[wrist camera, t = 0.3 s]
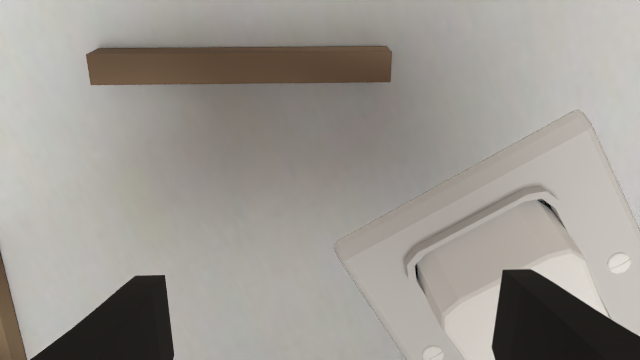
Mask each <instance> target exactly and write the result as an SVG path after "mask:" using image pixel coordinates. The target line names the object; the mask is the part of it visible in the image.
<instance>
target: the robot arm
mask: <svg viewBox="0 0 640 360" xmlns="http://www.w3.org/2000/svg"><path fill="white" fill-rule="evenodd" d="M492 351H493V354H494V357H495V360H640V336H638V335H637V334H635V333H633V332H631V331H630V330H628V329H626V328H625V327H623V326H621V325H620V324H618V323H616V322H615V321H613V320H611V319H610V318H608V317H607V316H605V315H603V314H602V313H600V312H599V311H597V310H595V309H594V308H592V307H591V306H589V305H588V304H586V303H585V302H583V301H581V300H580V299H578V298H577V297H575V296H574V295H572V294H571V293H569V292H568V291H566V290H565V289H563V288H561V287H560V286H558V285H557V284H555V283H554V282H552V281H550V280H549V279H547V278H546V277H544V276H542V275H541V274H539V273H537V272H535V271H533V270H531V269H511V270H503V271H502V278H501V285H500V292H499V299H498V306H497V313H496V320H495V327H494V334H493V341H492ZM173 357H174V350H173V341H172V333H171V324H170V316H169V307H168V299H167V290H166V281H165V275H152V276H135V277H133V278H132V279H131V280H130V281H128V282H127V283H126V284H125V285H123V286H122V287H121V288H120V289H119V290H118V291H116V292H115V293H114V294H113V295H112V296H111V297H109V298H108V299H107V300H106V301H105V302H104V303H102V304H101V305H100V306H99V307H98V308H96V309H95V310H94V311H93V312H92V313H90V314H89V315H88V316H87V317H86V318H84V319H83V320H82V321H81V322H79V323H78V324H77V325H76V326H75V327H73V328H72V329H71V330H69V331H68V332H67V333H65V334H64V335H63V336H61V337H60V338H59V339H57V340H56V341H55V342H53V343H52V344H51V345H49V346H48V347H47V348H45V349H44V350H43V351H41V352H40V353H39V354H37V355H36V356H35V357H33V358H32V359H30V360H173Z"/></svg>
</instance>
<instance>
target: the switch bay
mask: <svg viewBox="0 0 640 360" xmlns="http://www.w3.org/2000/svg"><path fill="white" fill-rule="evenodd" d="M86 58H87V64H88V70H89V77H90V83H91V85H143V84H246V83H348V82H390V80H391V59H392V52H391V51H390V50H389V48H388V47H387V46H350V47H220V48H98V49H96V50H94V51H92V52H90V53H88V54H86Z"/></svg>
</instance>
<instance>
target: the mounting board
mask: <svg viewBox="0 0 640 360" xmlns="http://www.w3.org/2000/svg"><path fill="white" fill-rule="evenodd" d="M0 360H26V356H25V352H24V347H23V343H22V339H21V335H20V331H19V327H18V323H17V319H16V315H15V311H14V307H13V303H12V299H11V295H10V291H9V287H8V283H7V279H6V274H5V270H4V266H3V262H2V258H1V254H0Z"/></svg>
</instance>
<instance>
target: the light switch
mask: <svg viewBox="0 0 640 360" xmlns="http://www.w3.org/2000/svg"><path fill="white" fill-rule="evenodd" d="M539 199H543V200H545V201H546V202H547V203H549V204H550V206H551V208H552V210H553V211H552V210H551V209H549V208H548V207H547V206H545V205H544V204H542V203H541V202H540V201H538V200H539ZM334 249H335V252H336V254H337V256H338V258H339V260H340V261H341V263H342V264H343V266H344V267H345V269H346V270H347V272H348V273H349V275H350V276H351V278H352V279H353V281H354V282H355V284H356V285H357V287H358V288H359V290H360V291H361V293H362V294H363V296H364V297H365V299H366V300H367V302H368V303H369V305H370V306H371V308H372V309H373V311H374V312H375V314H376V315H377V317H378V318H379V320H380V321H381V323H382V324H383V326H384V327H385V329H386V330H387V332H388V333H389V335H390V336H391V338H392V339H393V341H394V342H395V344H396V345H397V347H398V348H399V350H400V351H401V353H402V354H403V356H404V357H405V359H406V360H495V357H494V354H493V351H492V341H493V334H494V327H495V320H496V313H497V306H498V299H499V292H500V285H501V278H502V271H503V270H511V269H531V270H533V271H535V272H537V273H539V274H541V275H542V276H544V277H546V278H547V279H549V280H550V281H552V282H554V283H555V284H557V285H558V286H560V287H561V288H563V289H565V290H566V291H568V292H569V293H571V294H572V295H574V296H575V297H577V298H578V299H580V300H581V301H583V302H585V303H586V304H588V305H589V306H591V307H592V308H594V309H595V310H597V311H599V312H600V313H602V314H603V315H605V316H607V317H608V318H610V319H611V320H613V321H615V322H616V323H618V324H620V325H621V326H623V327H625V328H626V329H628V330H630V331H631V332H633V333H635V334H637V335H638V336H640V229H639V227H638V225H637V223H636V221H635V218H634V216H633V214H632V212H631V210H630V207H629V205H628V203H627V201H626V199H625V197H624V194H623V192H622V190H621V188H620V186H619V183H618V181H617V179H616V177H615V175H614V173H613V170H612V168H611V166H610V164H609V162H608V159H607V157H606V155H605V153H604V151H603V149H602V146H601V144H600V142H599V140H598V138H597V135H596V133H595V131H594V129H593V127H592V125H591V123H590V121H589V120H588V118H587V117H586V115H585V114H584V113H583V112H582V111H580V110H575V111H572V112H571V113H569V114H567V115H565V116H563V117H562V118H560V119H558V120H556V121H554V122H552V123H551V124H549V125H547V126H545V127H543V128H542V129H540V130H538V131H536V132H534V133H533V134H531V135H529V136H527V137H525V138H523V139H522V140H520V141H518V142H516V143H514V144H513V145H511V146H509V147H507V148H505V149H503V150H502V151H500V152H498V153H496V154H494V155H493V156H491V157H489V158H487V159H485V160H483V161H482V162H480V163H478V164H476V165H474V166H473V167H471V168H469V169H467V170H465V171H463V172H462V173H460V174H458V175H456V176H454V177H453V178H451V179H449V180H447V181H445V182H443V183H442V184H440V185H438V186H436V187H434V188H433V189H431V190H429V191H427V192H425V193H423V194H422V195H420V196H418V197H416V198H414V199H413V200H411V201H409V202H407V203H405V204H403V205H402V206H400V207H398V208H396V209H394V210H393V211H391V212H389V213H387V214H385V215H384V216H382V217H380V218H378V219H376V220H374V221H373V222H371V223H369V224H367V225H365V226H364V227H362V228H360V229H358V230H356V231H354V232H353V233H351V234H349V235H347V236H345V237H344V238H342V239H340V240H338V241H337V242H336V243H335V244H334ZM416 264H417V271H418V278H417V277H416V272H415V265H416Z"/></svg>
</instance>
